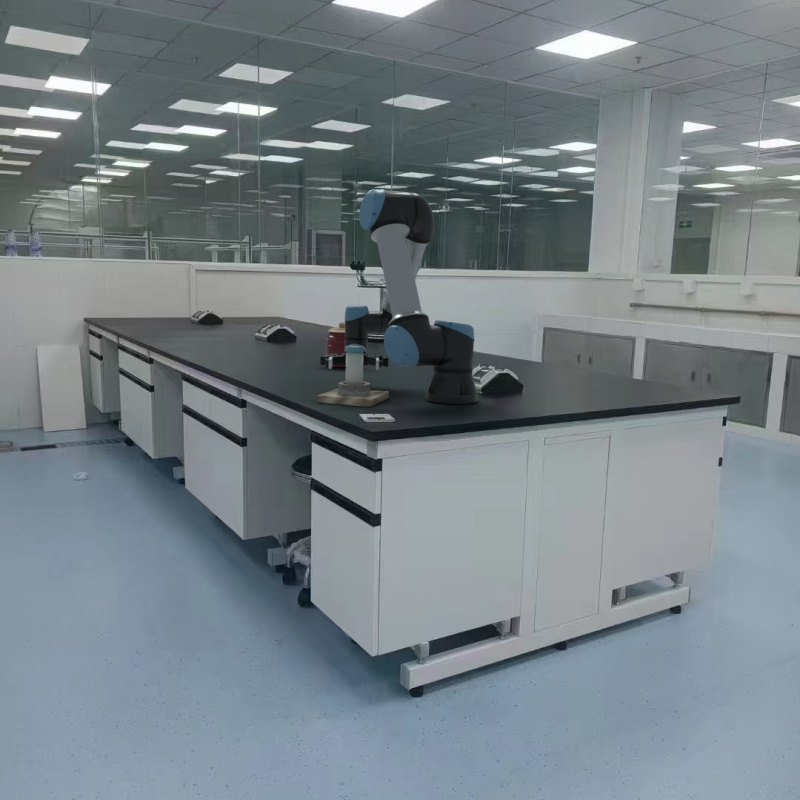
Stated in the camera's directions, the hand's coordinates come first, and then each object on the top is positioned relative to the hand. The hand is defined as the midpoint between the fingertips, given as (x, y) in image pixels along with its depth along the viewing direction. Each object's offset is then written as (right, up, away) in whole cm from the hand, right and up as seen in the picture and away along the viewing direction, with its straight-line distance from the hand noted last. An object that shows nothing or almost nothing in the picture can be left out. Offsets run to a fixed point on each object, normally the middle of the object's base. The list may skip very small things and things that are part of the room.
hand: (353, 364), depth 203 cm
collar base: (0, -10, +3) cm, 11 cm away
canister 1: (-10, +3, +82) cm, 82 cm away
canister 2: (0, -8, +3) cm, 9 cm away
